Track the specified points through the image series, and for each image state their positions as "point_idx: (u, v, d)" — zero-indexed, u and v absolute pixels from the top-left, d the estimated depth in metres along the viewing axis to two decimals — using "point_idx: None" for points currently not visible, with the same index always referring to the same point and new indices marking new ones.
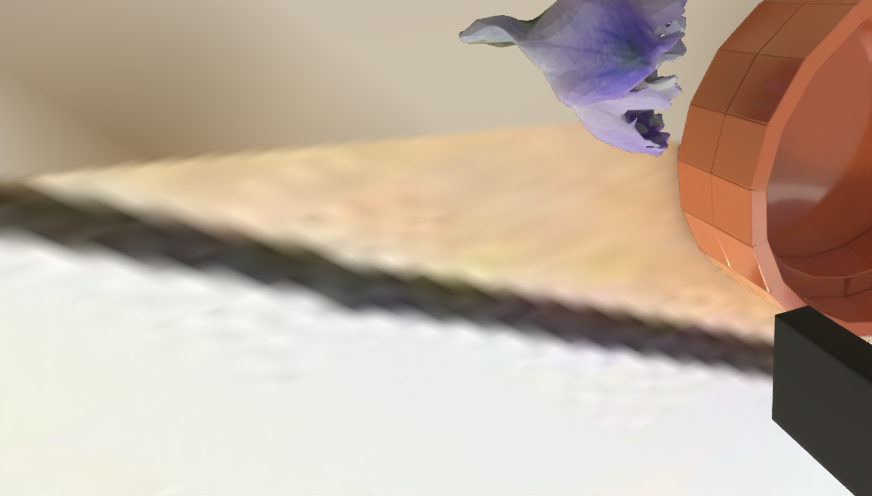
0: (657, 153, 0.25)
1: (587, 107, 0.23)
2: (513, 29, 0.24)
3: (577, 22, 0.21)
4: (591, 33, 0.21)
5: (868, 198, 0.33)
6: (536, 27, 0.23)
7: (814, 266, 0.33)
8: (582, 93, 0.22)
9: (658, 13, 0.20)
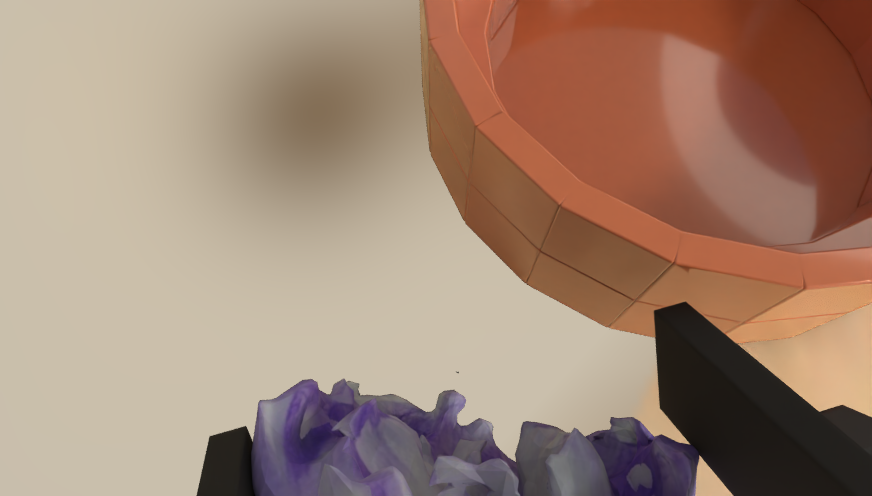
0: (696, 464, 0.13)
1: None
2: None
3: None
4: None
5: (769, 28, 0.22)
6: None
7: None
8: None
9: None
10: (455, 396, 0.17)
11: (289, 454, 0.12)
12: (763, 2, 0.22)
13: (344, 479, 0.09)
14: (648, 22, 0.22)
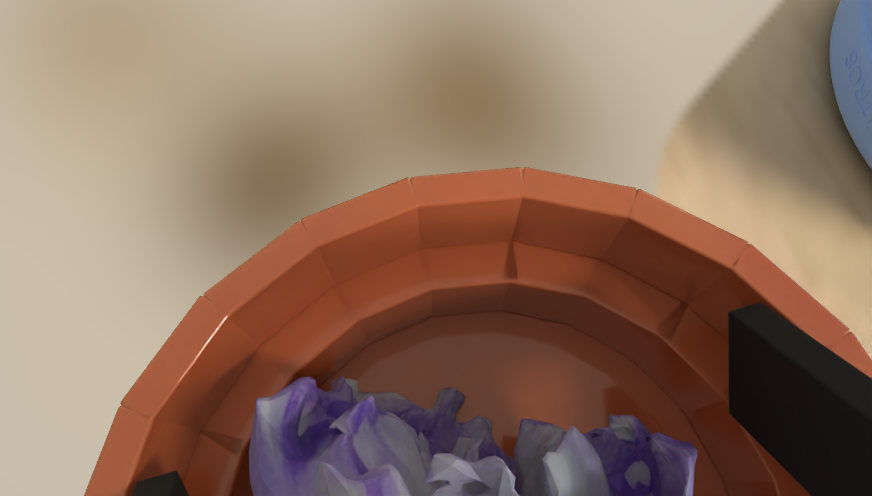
0: (694, 462, 0.13)
1: None
2: None
3: None
4: None
5: None
6: None
7: None
8: None
9: None
10: (454, 393, 0.17)
11: (287, 451, 0.12)
12: (621, 394, 0.18)
13: (339, 477, 0.09)
14: None
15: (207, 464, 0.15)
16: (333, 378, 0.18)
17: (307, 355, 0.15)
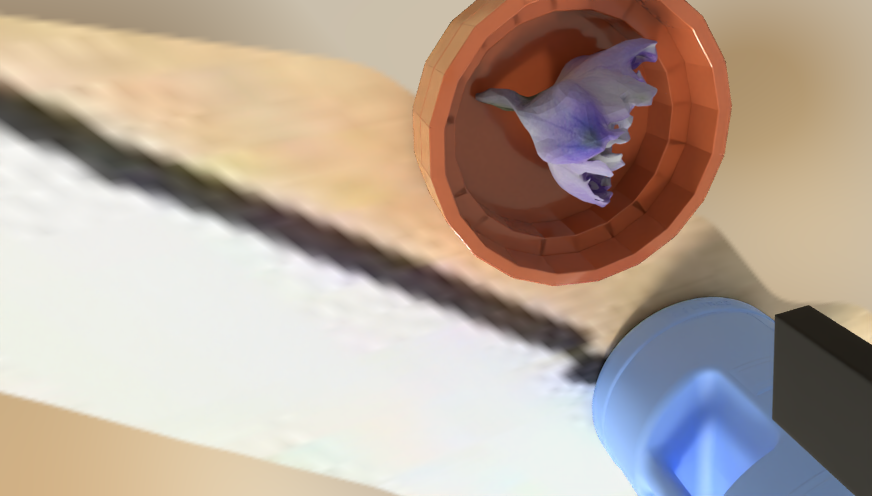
0: (602, 205, 0.35)
1: (557, 165, 0.33)
2: (515, 101, 0.33)
3: (559, 108, 0.31)
4: (567, 117, 0.30)
5: None
6: (531, 104, 0.32)
7: (524, 227, 0.39)
8: (555, 155, 0.32)
9: (612, 114, 0.30)
10: None
11: (635, 55, 0.32)
12: None
13: (653, 96, 0.29)
14: None
15: (620, 3, 0.33)
16: None
17: (656, 48, 0.34)
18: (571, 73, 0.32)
